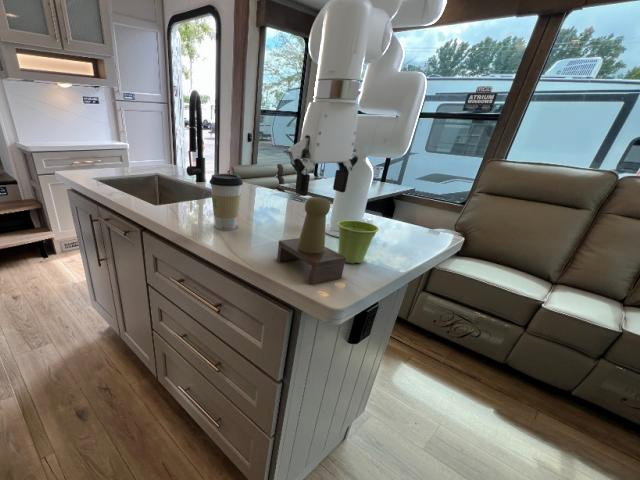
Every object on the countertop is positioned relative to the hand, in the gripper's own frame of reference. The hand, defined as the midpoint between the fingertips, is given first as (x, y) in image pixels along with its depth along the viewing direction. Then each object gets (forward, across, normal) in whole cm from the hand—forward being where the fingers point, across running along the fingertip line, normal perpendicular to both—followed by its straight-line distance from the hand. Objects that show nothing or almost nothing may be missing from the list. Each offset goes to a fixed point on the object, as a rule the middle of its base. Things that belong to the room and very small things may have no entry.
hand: (320, 192), depth 65 cm
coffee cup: (+18, +6, -35) cm, 40 cm away
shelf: (+17, +1, +1) cm, 17 cm away
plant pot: (+18, -13, 0) cm, 22 cm away
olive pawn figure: (+12, +1, 0) cm, 12 cm away
